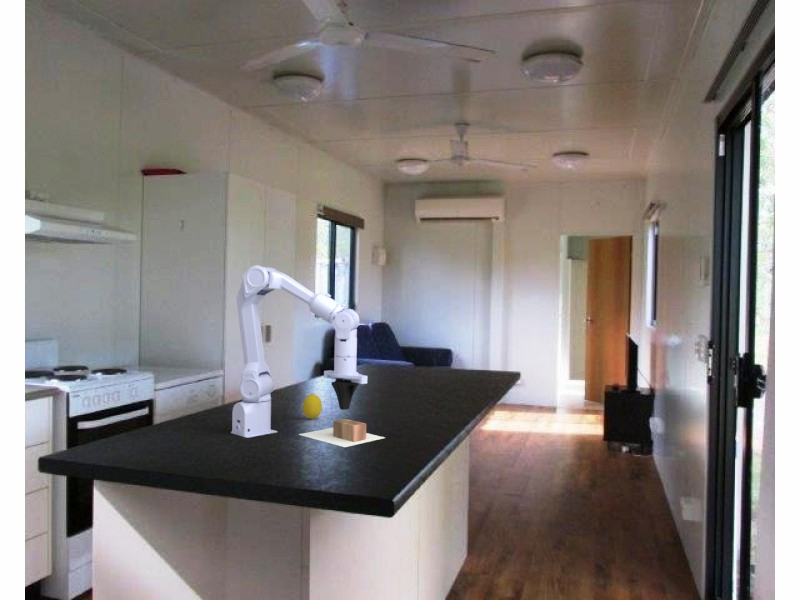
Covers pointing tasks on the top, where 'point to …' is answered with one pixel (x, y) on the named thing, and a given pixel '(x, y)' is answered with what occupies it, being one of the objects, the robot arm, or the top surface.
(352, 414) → the top surface
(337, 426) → the walnut block
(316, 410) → the lemon
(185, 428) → the top surface
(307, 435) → the mat
